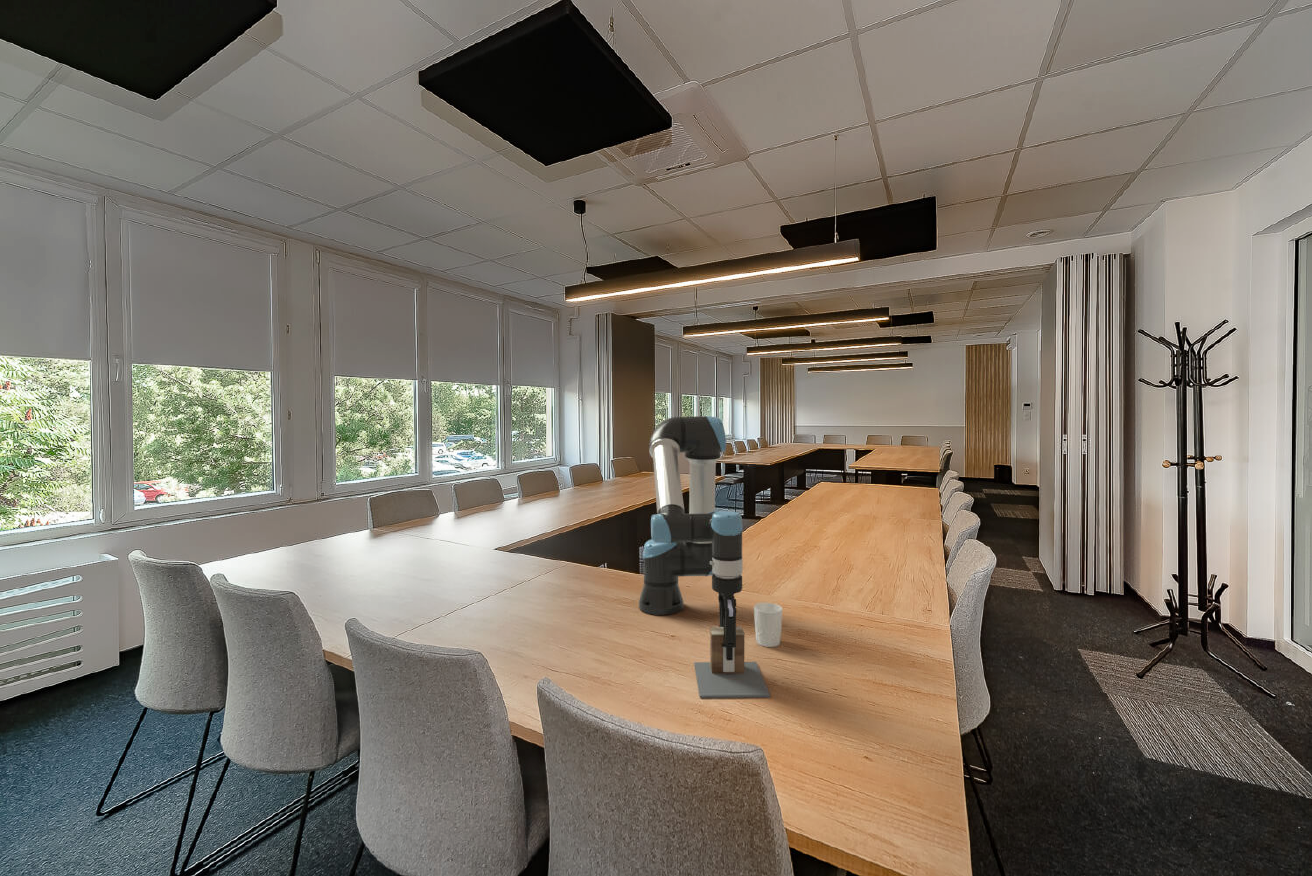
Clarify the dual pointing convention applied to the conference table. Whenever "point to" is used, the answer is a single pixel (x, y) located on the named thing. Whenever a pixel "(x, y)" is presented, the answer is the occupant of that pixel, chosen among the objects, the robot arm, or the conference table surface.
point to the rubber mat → (730, 682)
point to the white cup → (768, 624)
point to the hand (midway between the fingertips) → (727, 666)
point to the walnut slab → (717, 650)
